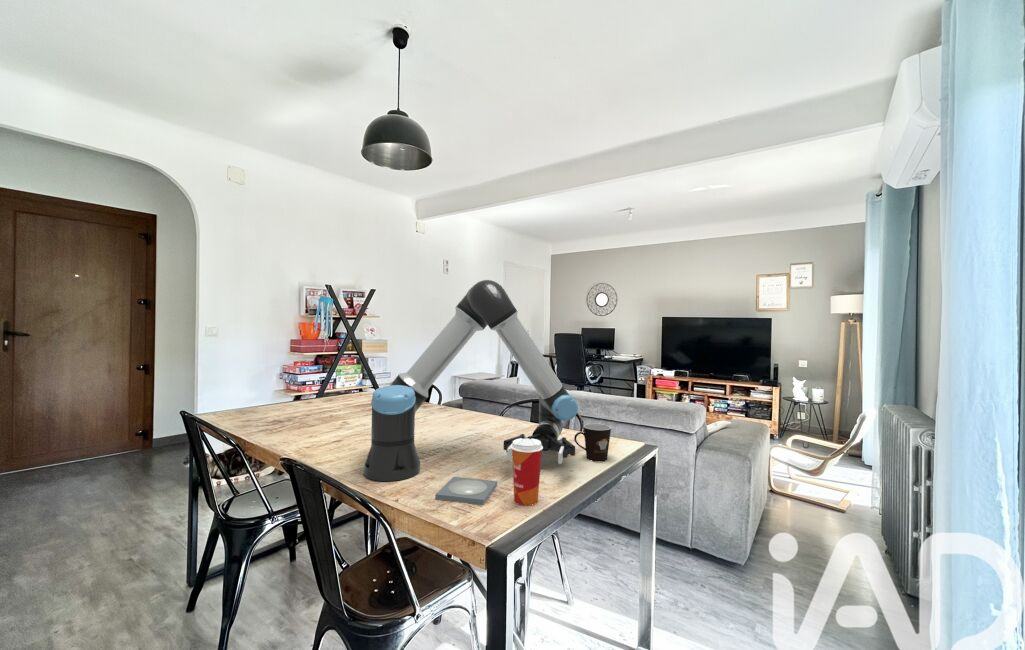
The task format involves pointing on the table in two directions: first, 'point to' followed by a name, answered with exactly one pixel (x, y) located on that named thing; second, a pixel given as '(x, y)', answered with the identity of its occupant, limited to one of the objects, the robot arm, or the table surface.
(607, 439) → the coffee mug
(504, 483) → the table surface
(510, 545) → the table surface
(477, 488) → the coaster
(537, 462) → the paper cup
